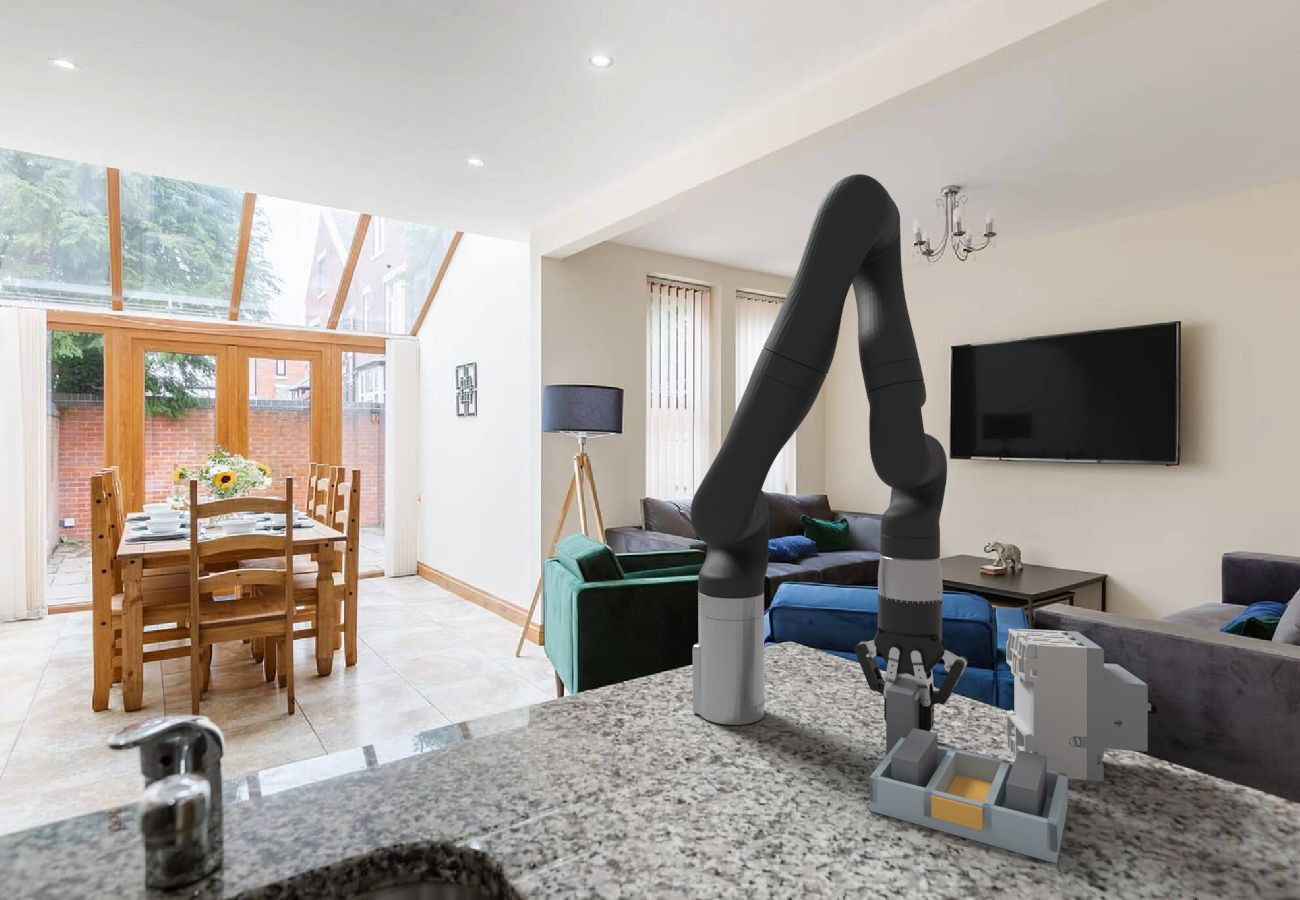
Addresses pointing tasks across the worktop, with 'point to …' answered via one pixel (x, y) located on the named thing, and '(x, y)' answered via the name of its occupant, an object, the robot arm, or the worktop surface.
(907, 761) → the rack
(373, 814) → the worktop surface
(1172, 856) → the worktop surface
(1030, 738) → the circuit breaker
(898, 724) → the rectangular block
